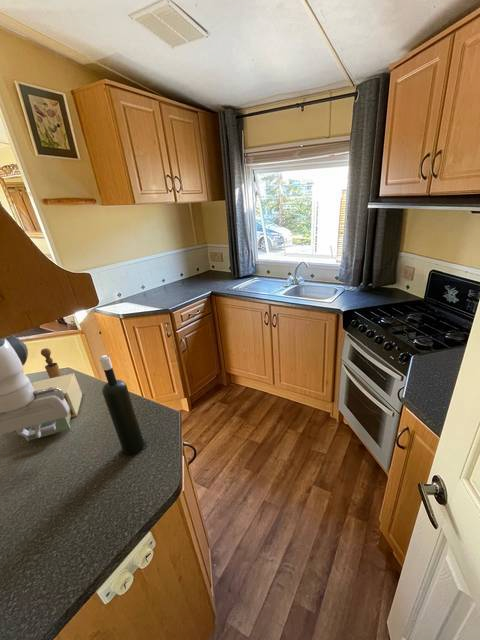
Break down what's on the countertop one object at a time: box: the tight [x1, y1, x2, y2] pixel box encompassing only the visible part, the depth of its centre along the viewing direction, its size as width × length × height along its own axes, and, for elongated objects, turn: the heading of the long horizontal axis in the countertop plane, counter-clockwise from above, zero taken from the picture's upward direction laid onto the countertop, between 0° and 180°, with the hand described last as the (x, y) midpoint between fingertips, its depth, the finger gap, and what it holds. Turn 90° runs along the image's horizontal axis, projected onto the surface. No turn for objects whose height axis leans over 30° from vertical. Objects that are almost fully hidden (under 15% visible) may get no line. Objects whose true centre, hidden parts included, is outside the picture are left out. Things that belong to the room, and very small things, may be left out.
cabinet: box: [31, 372, 83, 419], centre depth 101 cm, size 15×13×10 cm
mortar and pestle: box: [40, 347, 63, 379], centre depth 112 cm, size 7×6×18 cm
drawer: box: [24, 396, 72, 438], centre depth 92 cm, size 18×11×8 cm, turn 25°
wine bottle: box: [98, 354, 145, 456], centre depth 78 cm, size 6×6×30 cm
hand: (34, 437), depth 81 cm, fingers closed
